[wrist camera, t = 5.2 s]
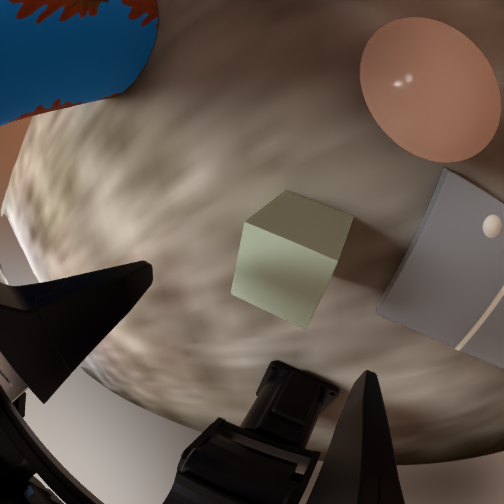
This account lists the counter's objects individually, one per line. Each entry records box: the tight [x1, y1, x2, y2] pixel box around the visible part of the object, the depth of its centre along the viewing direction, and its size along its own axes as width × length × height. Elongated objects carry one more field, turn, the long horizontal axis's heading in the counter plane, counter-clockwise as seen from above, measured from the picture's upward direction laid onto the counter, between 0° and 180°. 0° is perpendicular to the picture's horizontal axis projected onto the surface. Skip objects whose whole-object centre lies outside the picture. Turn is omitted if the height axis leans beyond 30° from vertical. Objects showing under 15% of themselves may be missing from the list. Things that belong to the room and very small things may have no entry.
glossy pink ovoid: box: [360, 17, 501, 163], centre depth 7 cm, size 4×4×6 cm
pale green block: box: [231, 190, 354, 329], centre depth 14 cm, size 4×4×5 cm
